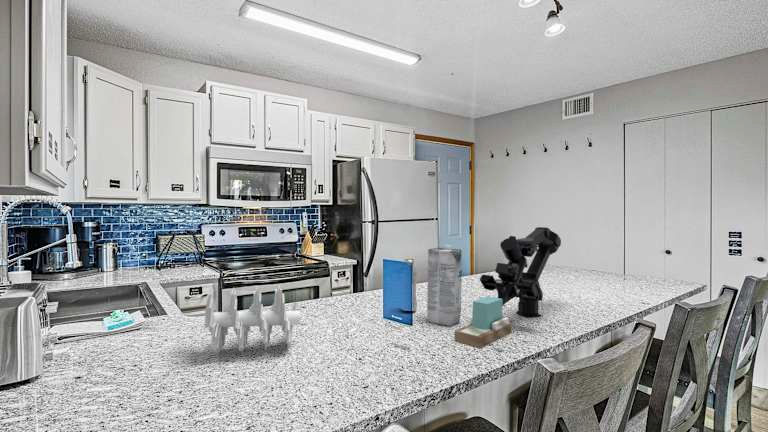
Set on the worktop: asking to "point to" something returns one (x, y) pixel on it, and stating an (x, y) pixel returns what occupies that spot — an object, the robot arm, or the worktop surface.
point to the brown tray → (483, 333)
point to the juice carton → (444, 285)
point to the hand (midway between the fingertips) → (499, 305)
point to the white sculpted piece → (250, 319)
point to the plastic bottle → (414, 284)
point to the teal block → (486, 312)
